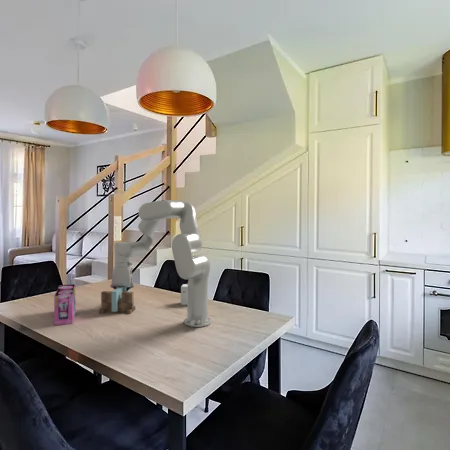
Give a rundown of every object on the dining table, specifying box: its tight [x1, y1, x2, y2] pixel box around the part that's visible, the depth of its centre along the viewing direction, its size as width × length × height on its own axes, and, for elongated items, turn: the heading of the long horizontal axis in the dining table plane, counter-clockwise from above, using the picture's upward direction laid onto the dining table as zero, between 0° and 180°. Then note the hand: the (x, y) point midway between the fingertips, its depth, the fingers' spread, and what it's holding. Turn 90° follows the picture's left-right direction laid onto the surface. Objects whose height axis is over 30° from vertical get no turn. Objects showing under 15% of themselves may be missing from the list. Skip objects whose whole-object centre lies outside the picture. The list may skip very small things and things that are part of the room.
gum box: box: [53, 283, 77, 326], centre depth 157 cm, size 24×8×14 cm, turn 22°
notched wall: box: [98, 290, 136, 315], centre depth 167 cm, size 16×8×10 cm, turn 89°
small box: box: [180, 283, 188, 306], centre depth 181 cm, size 8×6×10 cm
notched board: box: [111, 286, 131, 313], centre depth 173 cm, size 22×2×10 cm, turn 179°
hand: (122, 298), depth 174 cm, fingers closed on notched board, 2 cm apart
